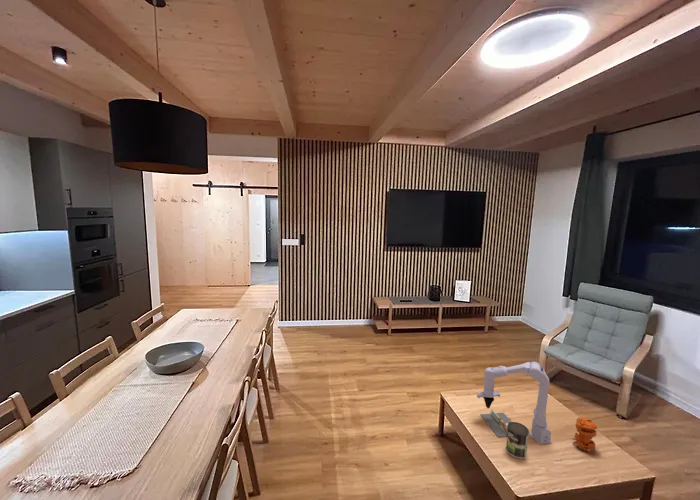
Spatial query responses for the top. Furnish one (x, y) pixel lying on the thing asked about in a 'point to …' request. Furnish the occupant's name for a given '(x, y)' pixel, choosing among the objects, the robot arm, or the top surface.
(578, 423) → the toy dinosaur
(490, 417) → the card
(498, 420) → the fence gate
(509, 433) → the coffee can
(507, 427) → the fixed fence
